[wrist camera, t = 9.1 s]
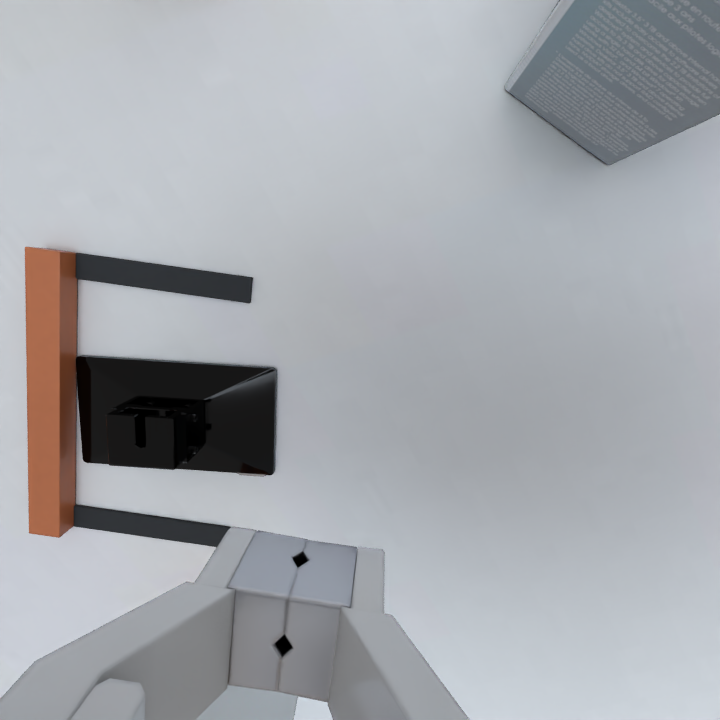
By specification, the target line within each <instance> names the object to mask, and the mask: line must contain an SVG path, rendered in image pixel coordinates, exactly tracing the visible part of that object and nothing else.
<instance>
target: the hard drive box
mask: <svg viewBox="0 0 720 720" xmlns="http://www.w3.org/2000/svg"><path fill="white" fill-rule="evenodd" d="M505 89H506V90H507V91H508V92H510V93H511V94H512V95H513V96H515V97H516V98H517V99H519V100H520V101H521V102H523V103H524V104H525V105H527V106H528V107H529V108H531V109H532V110H533V111H535V112H536V113H537V114H539V115H540V116H541V117H543V118H544V119H545V120H547V121H548V122H549V123H551V124H552V125H554V126H555V127H556V128H558V129H559V130H560V131H562V132H563V133H564V134H566V135H567V136H568V137H570V138H571V139H572V140H574V141H575V142H576V143H578V144H579V145H581V146H582V147H583V148H585V149H586V150H587V151H589V152H590V153H592V154H593V155H595V156H596V157H598V158H599V159H600V160H602V161H603V162H605V163H606V164H608V165H611V164H613V163H615V162H617V161H619V160H622V159H624V158H626V157H628V156H630V155H633V154H635V153H637V152H639V151H641V150H643V149H646V148H648V147H650V146H652V145H654V144H656V143H658V142H661V141H663V140H665V139H667V138H669V137H671V136H674V135H676V134H678V133H680V132H682V131H684V130H686V129H688V128H691V127H693V126H696V125H698V124H700V123H702V122H704V121H706V120H708V119H710V118H712V117H715V116H717V115H719V114H720V0H559V2H558V3H557V5H556V6H555V8H554V9H553V11H552V12H551V14H550V16H549V17H548V19H547V20H546V22H545V23H544V25H543V27H542V28H541V30H540V31H539V33H538V34H537V36H536V37H535V39H534V41H533V42H532V44H531V45H530V47H529V48H528V50H527V52H526V53H525V55H524V56H523V58H522V59H521V61H520V62H519V64H518V66H517V67H516V69H515V70H514V72H513V73H512V75H511V76H510V78H509V80H508V81H507V83H506V85H505Z"/></svg>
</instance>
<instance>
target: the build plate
mask: <svg viewBox="0 0 720 720" xmlns="http://www.w3.org/2000/svg"><path fill="white" fill-rule="evenodd" d="M76 373H77V386H78V400H79V413H80V427H81V440H82V454H83V460H84V461H85V462H87V463H100V464H109V465H112V466H126V467H141V468H156V469H170V470H174V469H188V470H203V471H218V472H232V473H238V474H239V475H248V476H262V477H263V476H266V475H272V474H273V473H274V471H275V435H276V384H277V370H276V369H275V368H274V367H260V366H244V365H228V364H212V363H196V362H180V361H165V360H149V359H133V358H117V357H101V356H85V355H82V356H78V357H76Z"/></svg>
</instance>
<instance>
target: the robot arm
mask: <svg viewBox="0 0 720 720" xmlns="http://www.w3.org/2000/svg"><path fill="white" fill-rule="evenodd" d="M384 567H385V552H384V551H383V549H375V548H367V547H358V549H357V547H354V546H347V545H340V544H332V543H325V542H318V541H311V540H308V539H303V538H297V537H292V536H286V535H281V534H275V533H270V532H264V531H256V530H253V529H246V528H240V527H232V528H230V529H229V530H228V531H227V532H226V534H225V535H224V537H223V539H222V540H221V542H220V543H219V545H218V546H217V548H216V550H215V551H214V553H213V554H212V556H211V558H210V559H209V561H208V562H207V564H206V565H205V567H204V569H203V570H202V572H201V573H200V575H199V576H198V578H197V580H196V581H195V583H191V582H185V583H183V584H181V585H179V586H178V587H176V588H174V589H172V590H170V591H168V592H166V593H164V594H162V595H160V596H158V597H157V598H155V599H153V600H151V601H149V602H147V603H145V604H143V605H141V606H139V607H138V608H136V609H134V610H132V611H130V612H128V613H126V614H124V615H122V616H120V617H118V618H117V619H115V620H113V621H111V622H109V623H107V624H105V625H103V626H101V627H99V628H98V629H96V630H94V631H92V632H90V633H88V634H86V635H84V636H82V637H80V638H78V639H77V640H75V641H73V642H71V643H69V644H67V645H65V646H63V647H61V648H59V649H57V650H56V651H54V652H52V653H50V654H48V655H46V656H44V657H42V658H40V659H38V660H37V661H35V662H34V663H33V664H32V665H31V666H30V667H29V668H28V669H27V670H26V671H25V672H24V674H23V675H22V676H21V677H20V678H19V679H18V680H17V681H16V682H15V683H14V684H13V686H12V687H11V688H10V689H9V690H8V691H7V692H6V693H5V694H4V695H3V696H2V697H1V699H0V720H196V719H197V718H198V717H199V716H200V715H201V714H202V713H203V712H204V711H205V710H206V709H207V708H208V707H209V706H210V705H211V704H212V703H213V702H214V701H215V700H216V699H217V698H218V697H219V696H220V695H221V694H222V693H223V692H224V691H225V690H226V689H227V685H230V686H238V687H245V688H252V689H260V690H267V691H274V692H278V691H279V692H280V693H285V694H290V695H295V696H300V697H305V698H310V699H315V700H319V701H324V702H328V707H329V710H330V712H331V715H332V718H333V720H469V718H468V717H467V716H466V714H465V713H464V711H463V710H462V709H461V707H460V706H459V705H458V703H457V702H456V701H455V699H454V698H453V697H452V695H451V694H450V693H449V691H448V690H447V688H446V687H445V686H444V684H443V683H442V682H441V680H440V679H439V678H438V676H437V675H436V674H435V672H434V671H433V670H432V668H431V667H430V666H429V664H428V663H427V661H426V660H425V659H424V657H423V656H422V655H421V653H420V652H419V651H418V649H417V648H416V647H415V645H414V644H413V643H412V641H411V640H410V639H409V637H408V636H407V634H406V633H405V632H404V630H403V629H402V628H401V626H400V625H399V624H398V622H397V621H396V620H395V618H394V617H393V616H392V615H389V614H384Z"/></svg>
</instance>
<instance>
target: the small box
mask: <svg viewBox="0 0 720 720" xmlns="http://www.w3.org/2000/svg"><path fill="white" fill-rule="evenodd" d="M297 698H298V696H295V695H290V694H285V693H280V692H279V691H278V692H274V691H267V690H260V689H252V688H245V687H238V686H230V685H227V689H226V690H225V691H224V692H223V693H222V694H221V695H220V696H219V697H218V698H217V699H216V700H215V701H214V702H213V703H212V704H211V705H210V706H209V707H208V708H207V709H206V710H205V711H204V712H203V713H202V714H201V715H200V716H199V717H198V718H197V719H196V720H294V715H295V709H296V704H297Z"/></svg>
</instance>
